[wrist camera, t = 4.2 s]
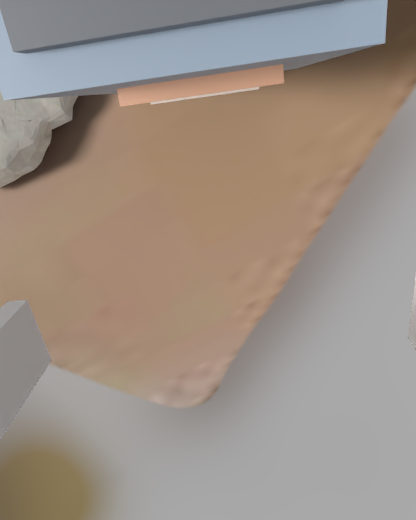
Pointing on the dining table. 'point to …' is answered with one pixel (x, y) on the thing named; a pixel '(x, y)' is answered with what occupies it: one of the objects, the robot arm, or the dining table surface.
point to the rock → (28, 132)
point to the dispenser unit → (173, 45)
